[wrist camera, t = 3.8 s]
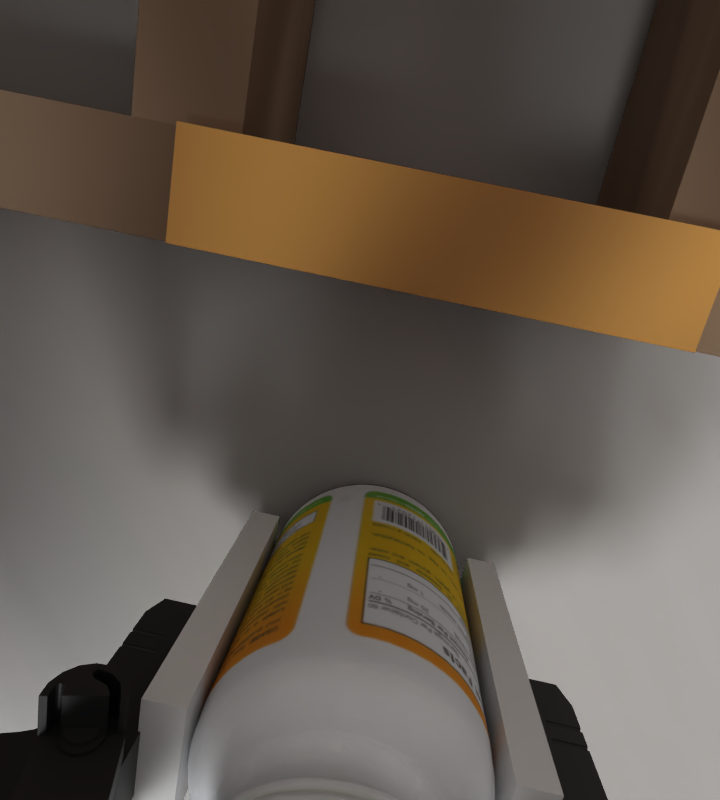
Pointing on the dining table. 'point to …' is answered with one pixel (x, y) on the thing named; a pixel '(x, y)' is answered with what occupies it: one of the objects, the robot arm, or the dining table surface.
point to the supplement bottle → (349, 666)
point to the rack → (388, 179)
